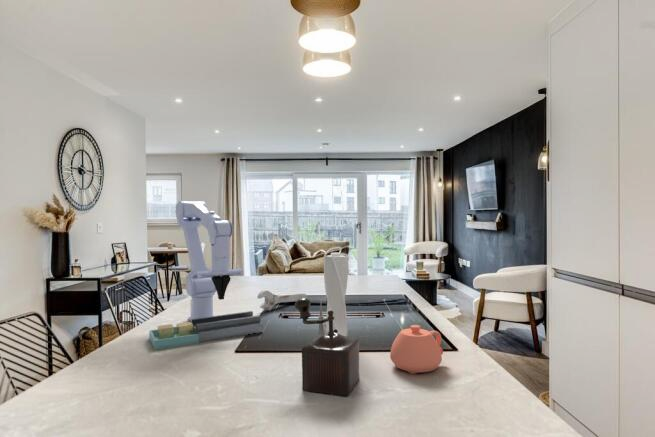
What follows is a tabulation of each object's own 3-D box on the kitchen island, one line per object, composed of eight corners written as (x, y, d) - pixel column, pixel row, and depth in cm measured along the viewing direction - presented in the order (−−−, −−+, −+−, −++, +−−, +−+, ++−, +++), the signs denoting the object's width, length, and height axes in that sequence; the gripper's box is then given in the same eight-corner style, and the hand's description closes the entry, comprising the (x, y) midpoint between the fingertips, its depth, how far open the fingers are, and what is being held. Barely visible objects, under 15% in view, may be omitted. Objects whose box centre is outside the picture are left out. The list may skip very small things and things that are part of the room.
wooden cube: (176, 336, 127) (176, 323, 127) (189, 334, 129) (189, 321, 129) (179, 340, 124) (179, 326, 124) (193, 337, 126) (193, 324, 126)
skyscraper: (327, 337, 128) (326, 246, 128) (352, 339, 126) (351, 246, 125) (317, 345, 120) (316, 248, 120) (344, 348, 118) (343, 249, 117)
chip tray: (149, 338, 127) (149, 330, 127) (189, 332, 133) (189, 324, 133) (154, 349, 117) (154, 340, 117) (198, 342, 123) (198, 334, 123)
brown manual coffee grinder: (361, 377, 96) (361, 299, 96) (347, 398, 85) (346, 310, 85) (299, 369, 101) (298, 295, 101) (279, 388, 91) (278, 305, 90)
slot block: (189, 332, 133) (189, 317, 133) (250, 323, 143) (249, 309, 143) (198, 342, 123) (198, 326, 123) (262, 332, 133) (262, 317, 133)
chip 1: (171, 337, 127) (157, 339, 125) (171, 324, 126) (157, 326, 125) (174, 340, 123) (159, 342, 121) (173, 327, 123) (159, 329, 121)
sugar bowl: (381, 362, 105) (381, 322, 105) (428, 355, 110) (428, 316, 110) (407, 380, 94) (407, 335, 94) (458, 371, 99) (458, 328, 99)
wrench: (306, 306, 183) (259, 312, 158) (302, 305, 184) (256, 311, 159) (307, 287, 183) (261, 290, 158) (303, 287, 184) (257, 290, 159)
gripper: (200, 259, 129) (200, 303, 129) (246, 257, 136) (246, 298, 136) (195, 257, 135) (196, 299, 135) (239, 255, 142) (240, 295, 142)
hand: (221, 298), depth 136 cm, fingers closed
